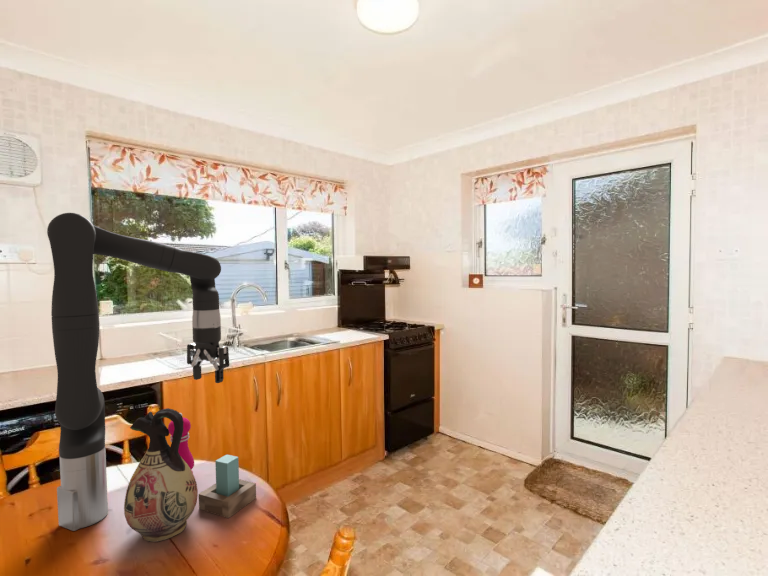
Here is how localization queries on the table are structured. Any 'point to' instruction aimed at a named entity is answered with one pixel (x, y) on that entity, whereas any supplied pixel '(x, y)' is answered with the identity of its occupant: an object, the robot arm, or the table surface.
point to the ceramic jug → (160, 482)
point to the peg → (227, 475)
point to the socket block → (227, 499)
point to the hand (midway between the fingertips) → (208, 380)
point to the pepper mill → (183, 442)
